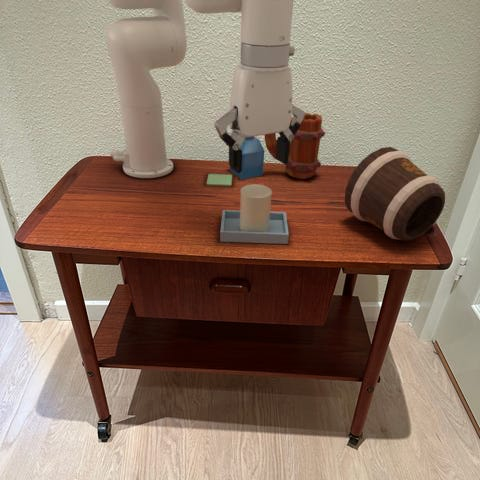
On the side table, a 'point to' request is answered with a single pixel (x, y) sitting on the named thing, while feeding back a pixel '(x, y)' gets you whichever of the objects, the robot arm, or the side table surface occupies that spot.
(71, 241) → the side table surface
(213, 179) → the mat
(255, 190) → the cream upright cylinder
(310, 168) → the mug
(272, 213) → the tray
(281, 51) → the robot arm
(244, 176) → the perfume bottle
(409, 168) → the brown wooden barrel
